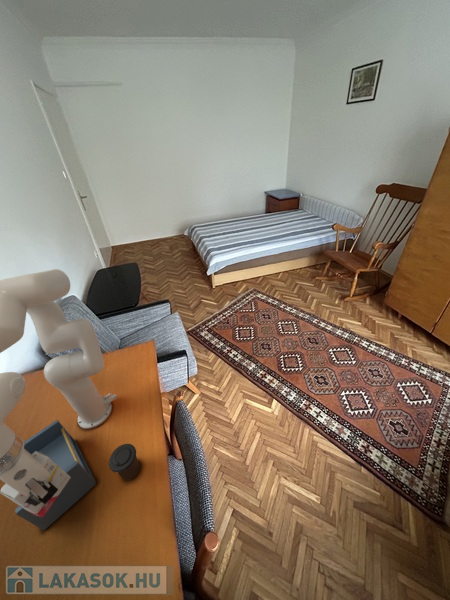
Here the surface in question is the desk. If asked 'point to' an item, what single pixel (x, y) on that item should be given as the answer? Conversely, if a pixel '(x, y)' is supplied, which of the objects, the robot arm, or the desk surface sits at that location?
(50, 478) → the ink box
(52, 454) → the shelf
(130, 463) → the coffee cup
